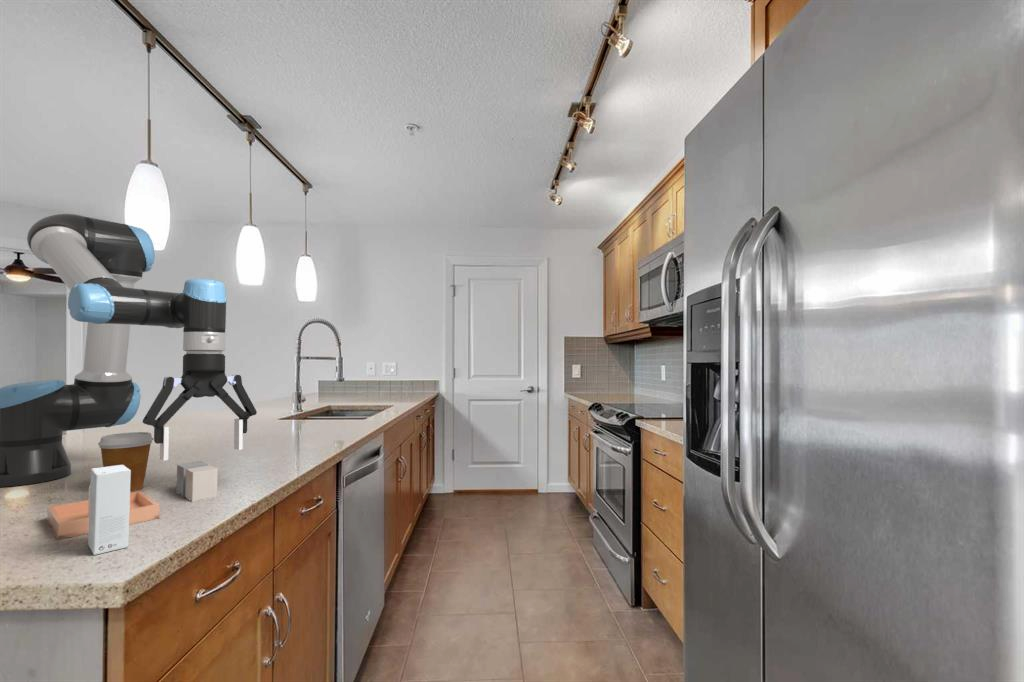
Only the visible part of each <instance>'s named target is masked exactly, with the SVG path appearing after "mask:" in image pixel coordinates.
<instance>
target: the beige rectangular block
mask: <svg viewBox="0 0 1024 682" xmlns="http://www.w3.org/2000/svg"><path fill="white" fill-rule="evenodd" d="M218 474H219V469H218V467H216V466H213V465H211V464H210V465H209V464H208V466H202V467H196V468H189V469H186V488H185V496H184V497H186V498H187V500H188V499H190V500H191V501H195V502H197V501H196V500H200V499H205V500H207V499H206V498H210V499H212V498H211V497H215V498H217V497H218V485H219V484H218V483H219V482H218V477H219V475H218ZM216 496H217V497H216ZM186 498H185V499H186ZM190 500H189V501H190ZM191 501H190V502H191ZM200 501H201V500H200Z"/></svg>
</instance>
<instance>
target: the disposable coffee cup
mask: <svg viewBox="0 0 1024 682" xmlns="http://www.w3.org/2000/svg"><path fill="white" fill-rule="evenodd" d="M153 441H154V437H153V436H152V433H151V432H148V431H139V432H138V431H137V432H136V431H134V432H133V431H132V432H131V431H130V432H122V433H120V432H119V433H112V434H107V435H102V436H101V437H100V441H99V442H97V446H99V448H100V451H101V452H100V454H101V459H102V467H108V466H116V465H124V466H125V467H127V468H128V469H130V470H131V479H130V491H132V492H136V491H140V490H141V488H142V489H143V488H144V486H145V485H144V484H145V479H146V473H147V468H148V462H149V456H150V455H149V454H150V449H151V444H153ZM135 490H136V491H135Z"/></svg>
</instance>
